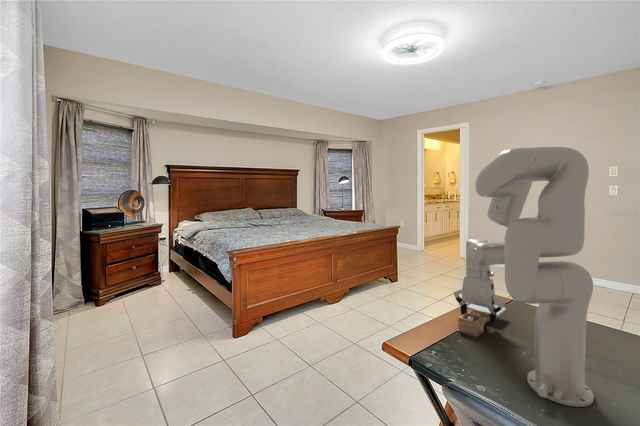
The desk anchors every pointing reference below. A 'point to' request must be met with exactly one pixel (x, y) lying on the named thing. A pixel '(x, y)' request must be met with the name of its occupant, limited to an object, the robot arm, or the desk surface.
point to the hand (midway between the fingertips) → (477, 319)
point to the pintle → (468, 333)
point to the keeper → (485, 309)
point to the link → (473, 322)
